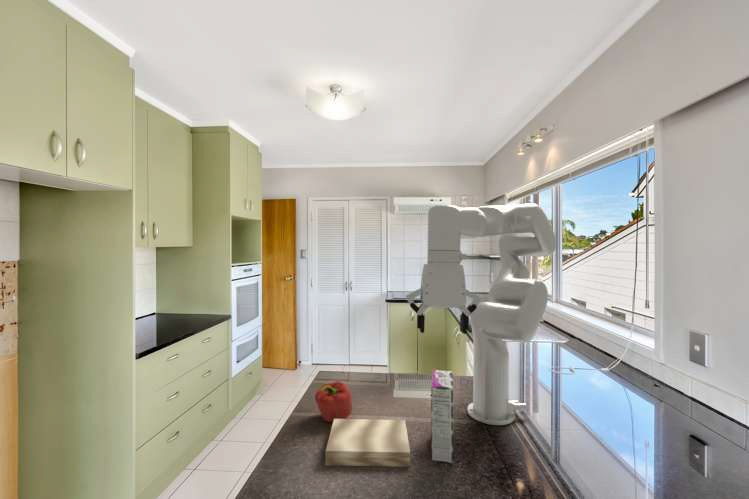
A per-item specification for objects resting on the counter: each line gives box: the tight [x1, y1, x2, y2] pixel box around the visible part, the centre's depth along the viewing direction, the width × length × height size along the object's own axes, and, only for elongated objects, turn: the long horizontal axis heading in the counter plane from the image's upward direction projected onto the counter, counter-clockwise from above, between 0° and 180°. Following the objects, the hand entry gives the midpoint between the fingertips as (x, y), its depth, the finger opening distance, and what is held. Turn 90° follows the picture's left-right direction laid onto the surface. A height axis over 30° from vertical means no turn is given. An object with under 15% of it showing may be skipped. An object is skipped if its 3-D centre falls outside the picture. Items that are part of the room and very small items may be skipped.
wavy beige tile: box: [324, 418, 411, 468], centre depth 79 cm, size 18×14×3 cm
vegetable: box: [314, 381, 353, 423], centre depth 92 cm, size 11×10×10 cm
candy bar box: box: [430, 369, 454, 464], centre depth 79 cm, size 11×5×16 cm, turn 168°
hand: (442, 332), depth 79 cm, fingers open, 9 cm apart
